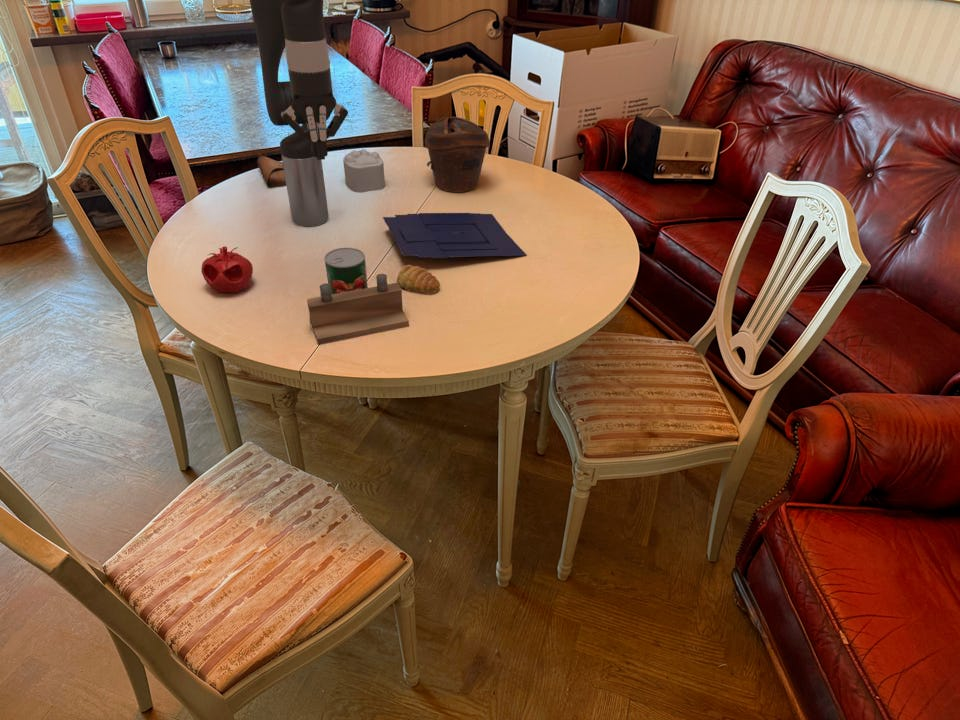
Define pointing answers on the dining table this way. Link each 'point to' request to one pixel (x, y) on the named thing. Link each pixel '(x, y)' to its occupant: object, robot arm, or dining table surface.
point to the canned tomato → (346, 270)
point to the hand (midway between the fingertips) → (320, 158)
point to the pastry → (417, 280)
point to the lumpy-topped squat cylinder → (364, 171)
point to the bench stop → (356, 311)
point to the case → (456, 153)
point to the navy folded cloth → (451, 235)
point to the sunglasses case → (272, 172)
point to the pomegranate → (227, 271)
